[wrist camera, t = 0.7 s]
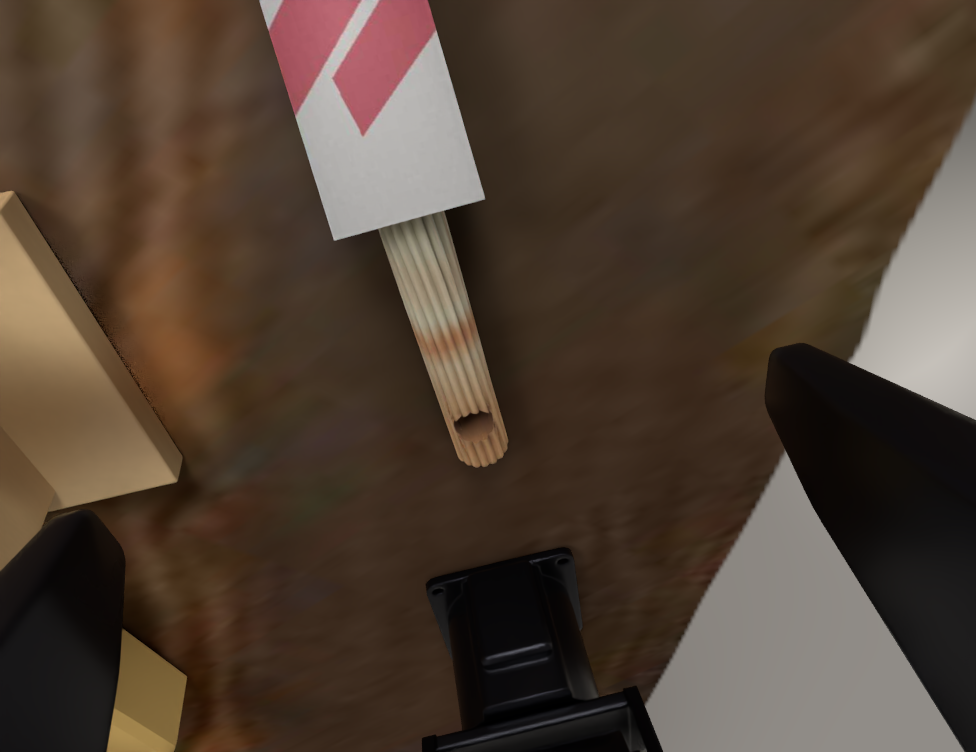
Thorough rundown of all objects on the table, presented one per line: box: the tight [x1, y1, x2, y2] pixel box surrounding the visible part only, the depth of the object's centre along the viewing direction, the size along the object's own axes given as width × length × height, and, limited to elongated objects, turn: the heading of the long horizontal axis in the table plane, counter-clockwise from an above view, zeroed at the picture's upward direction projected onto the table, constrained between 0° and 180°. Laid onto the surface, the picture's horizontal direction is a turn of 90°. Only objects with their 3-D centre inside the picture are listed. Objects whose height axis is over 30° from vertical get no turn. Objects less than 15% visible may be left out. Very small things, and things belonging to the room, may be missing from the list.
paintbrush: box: [259, 0, 508, 468], centre depth 19 cm, size 4×3×20 cm
